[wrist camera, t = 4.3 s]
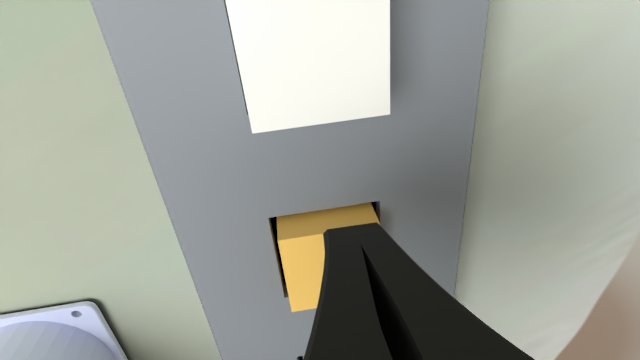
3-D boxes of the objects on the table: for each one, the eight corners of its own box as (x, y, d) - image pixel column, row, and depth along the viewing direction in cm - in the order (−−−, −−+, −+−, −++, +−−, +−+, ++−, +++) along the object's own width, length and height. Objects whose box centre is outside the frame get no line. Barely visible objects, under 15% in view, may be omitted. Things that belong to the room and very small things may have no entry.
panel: (250, 370, 26) (248, 432, 23) (108, -84, 13) (53, -101, 10) (419, 341, 27) (442, 396, 24) (446, -119, 14) (506, -146, 10)
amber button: (287, 258, 19) (291, 312, 16) (275, 192, 17) (277, 240, 14) (363, 245, 20) (381, 296, 17) (360, 179, 18) (380, 224, 15)
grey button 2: (254, 96, 14) (252, 133, 11) (231, -30, 12) (219, -27, 9) (363, 81, 14) (390, 114, 11) (358, -44, 12) (389, -46, 9)
